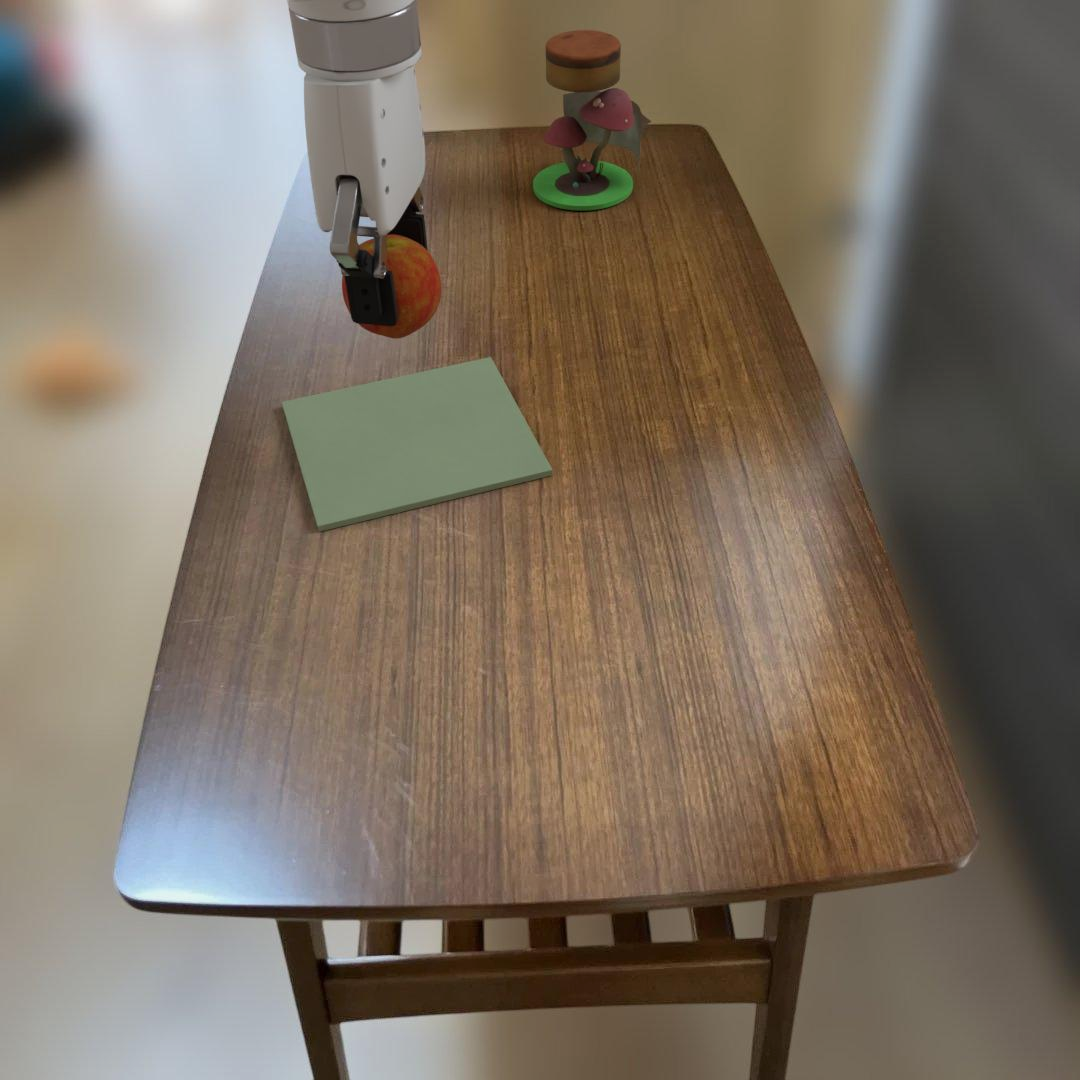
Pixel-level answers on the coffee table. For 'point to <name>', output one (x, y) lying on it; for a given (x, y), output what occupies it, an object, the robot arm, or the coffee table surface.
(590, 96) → the mushroom figurine
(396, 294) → the fruit
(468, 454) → the mat
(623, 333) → the coffee table surface
